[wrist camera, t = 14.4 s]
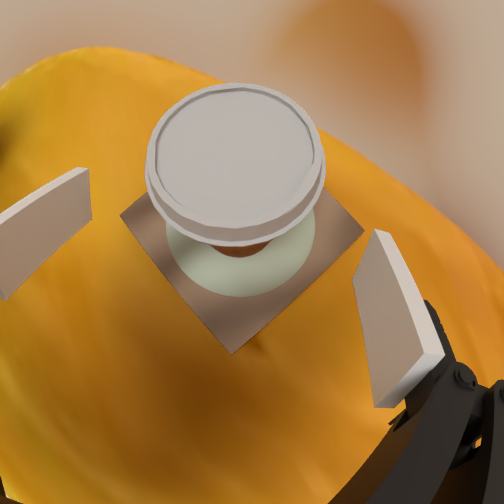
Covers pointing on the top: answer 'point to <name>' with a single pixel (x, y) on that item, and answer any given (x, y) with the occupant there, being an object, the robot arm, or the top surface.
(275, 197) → the disposable coffee cup
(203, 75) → the top surface
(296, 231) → the coaster
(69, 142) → the top surface
